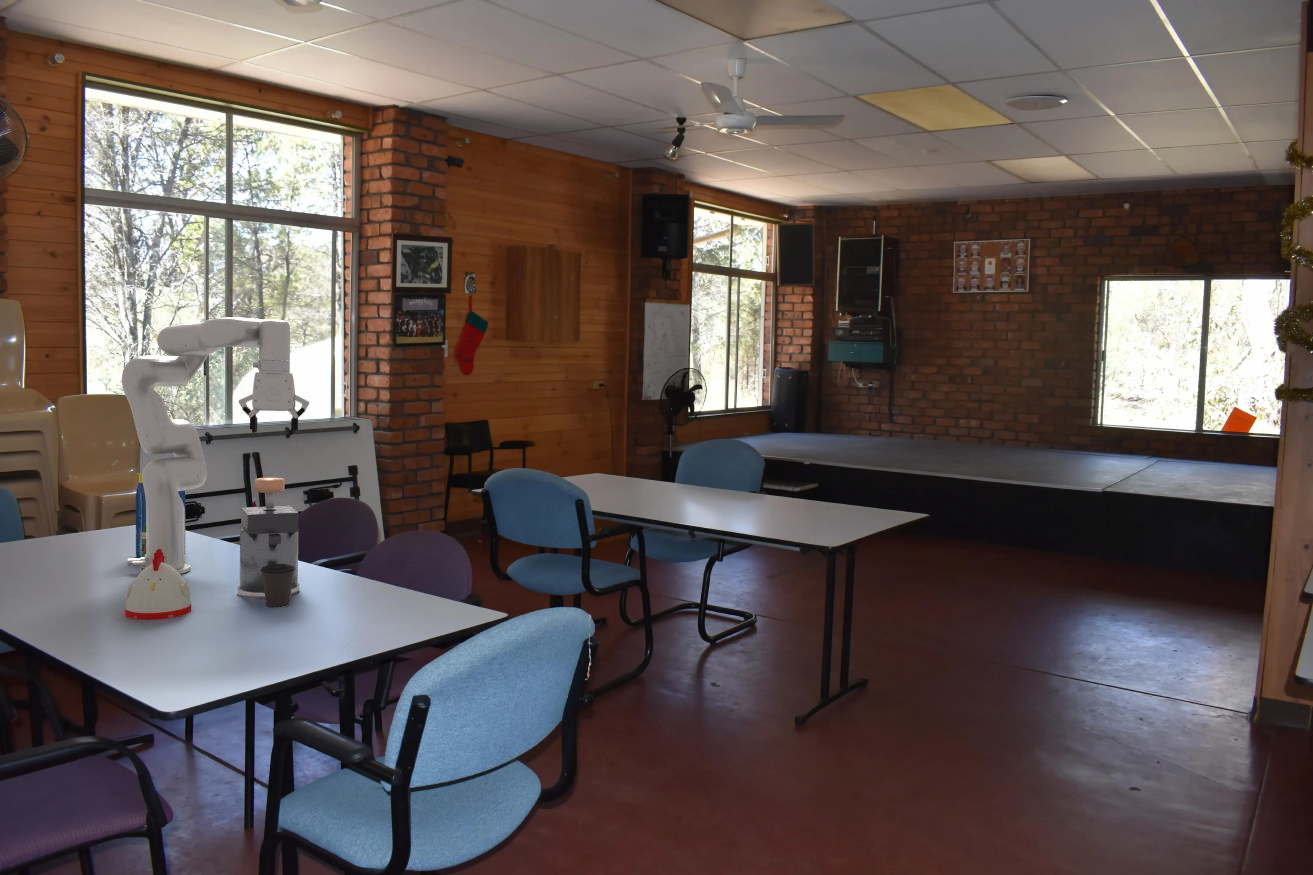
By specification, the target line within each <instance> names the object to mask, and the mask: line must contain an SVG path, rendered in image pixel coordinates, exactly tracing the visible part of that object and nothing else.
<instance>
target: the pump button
mask: <svg viewBox="0 0 1313 875" xmlns="http://www.w3.org/2000/svg"><path fill="white" fill-rule="evenodd" d="M285 480H286V479H285V478H282V477H259V478H255V480H254V481H255V484H254V486H255V487H254V489H255V490H254V492H256V493H262V494H263V493H264V494H265V507H266V509H273V508H274V506H275V493H283V492H285V484H286V483H285Z"/></svg>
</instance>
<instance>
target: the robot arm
mask: <svg viewBox="0 0 1313 875" xmlns="http://www.w3.org/2000/svg"><path fill="white" fill-rule="evenodd" d="M156 337H157V338H156V343H157V346H158V347H159V349H160V350H161V351H162V352H163V353H165V354H167V355H142V356H137V357H134V358H132V359H130V360H129V361H128V362H127V363H126V364H125V366H124V368H123V370H122V374H121V384H122V385H121V386H122V389H123V392H124V395H125V397H126V400H127V402H128V404H129V407H130V409H131V412H132V418H133V421H134V422H133V423H134V426H135V429H136V434H137V438H138V442H139V444H140V447H141V449H142V451H143V452H144V453H146V454H147V455H154V456H155V455H157V456H159V455H170V454H173V457H164V458H158V459H154V460H152V461H150V462H148V463H147V464H146V465H145V466H144V468H143V469H142V473H141V474H142V482H143V486H144V491H145V497H146V554H145V557H141V558H128V559H127V567H134V568H135V567H140V568H139V574H140V573H141V572H142V571H143V570H144V569H145V568H146V567H148V566H149V565H151V564H153V561H152V559H154V553H156V550H157V549H162V552H163V556H165V559H164V563H166V564H168V565H170V566H172V567H173V568H174V569H176V570H177V571H178V572H179V573H180V575H182V574H185V573H188V572H190V571H191V570H192V569H191V568H192V567H191V564H189V563H186V562H185V560H186V559H185V557H186V507H185V508H184V504H183V501H182V499H181V498H180V496H179V494H178V491H183V490H185V491H189V490H194V489H198V488H200V487H202V486H204V485H205V483H206V481H207V478H208V469H207V463H206V460H205V454H204V451H203V448H202V442H201V438H200V435H199V432H198V431H197V429H196V428H195V426H194V425H193V424H192V423H191V422H189V421H188V420H185V419H177V418H176V419H171V418H170V417H169V414H168V409H167V406H166V403H165V401H164V400H163V399H164V398H162V397H161V395H160V394H159V392H157V391H156V390H155V389H154V388H155V387H183V386H185V385H186V384H188V383H189V382H190V381H191V380H192V379H193V378H194V376H195V375H196V374H197V372H199V369H200V368H201V366H202V365H203V364H204V362H205V361H206V360H207V359H208V357H209V355H210V354H212V353H215V352H217V351H218V350H219V349H220V348H228V347H229V348H233V347H235V348H236V347H237V348H253V349H254V348H255V349H256V348H258V361H256V362H253V363H252V367H253V368H256V369H257V370H258V371H257V372H255V374H254V378H253V386H252V393H251V394H250V395H247V396H245V397H243V398H240V399H239V400H238V403H239V405H240V407H241V409H242V411H243V412H244V413H245V415H247V416H248V417H249V429H250V430H251V433H252V434H254V433H257V432H258V417H257V414H258V413H259V412H260V411H261V412H262V411H263V412H264V411H266V412H289V414H290V415H291V416H292V418H291V420H290V423H291V425H290V427H291V428H290V434H296V433H297V431H299V418H300V417H301V416H302V415H304V413H305V412H306V411H307V409H308V407H309V405H310V401H309V400H307V399H306V398H305V399H304V398H303V397H301V396H299V395H297V394H296V390H295V387H296V386H295V380H294V376H293V374H294V373H292V372H291V326H290V323H289V322H288V321H286V320H281V319H257V318H247V317H236V316H235V317H221V318H213V319H211V318H210V319H207V320H204V321H199V322H191V323H181V324H172V325H169V326H166V327H164V328H163V329H161V330H160V331H159V332H158V335H157V336H156ZM169 355H170V356H169ZM250 401H251V406H252V409H250V407H249V406H248V405H247V403H248V402H250ZM296 402H298V403H300V404H301V407H300V408H299V410H296Z"/></svg>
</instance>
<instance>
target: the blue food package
mask: <svg viewBox="0 0 1313 875" xmlns="http://www.w3.org/2000/svg"><path fill="white" fill-rule="evenodd" d="M178 494H179V496H180V498H181V499H182V501H183V504H184V508H185V509H186V490H183V491H178ZM145 554H146V497H145V491H144V486H143V482H142V473H138V484H137V488H136V492H135V556H136V557H137V558H138V559H141V557H145Z"/></svg>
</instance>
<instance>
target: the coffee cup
mask: <svg viewBox="0 0 1313 875" xmlns="http://www.w3.org/2000/svg"><path fill="white" fill-rule="evenodd" d="M294 570H295V568H294V566H291V565H287V564H271V565H268V566H265V567H262V569H261V570H260V571H261V572H262V573H263V582H264V591H265V599H264V600H265V606H266V607H268V608H272V609H273V608H285V607H287V606H290V603H291V602H290V600H291V596H290V595H291V587H292V579H293V572H294Z"/></svg>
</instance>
